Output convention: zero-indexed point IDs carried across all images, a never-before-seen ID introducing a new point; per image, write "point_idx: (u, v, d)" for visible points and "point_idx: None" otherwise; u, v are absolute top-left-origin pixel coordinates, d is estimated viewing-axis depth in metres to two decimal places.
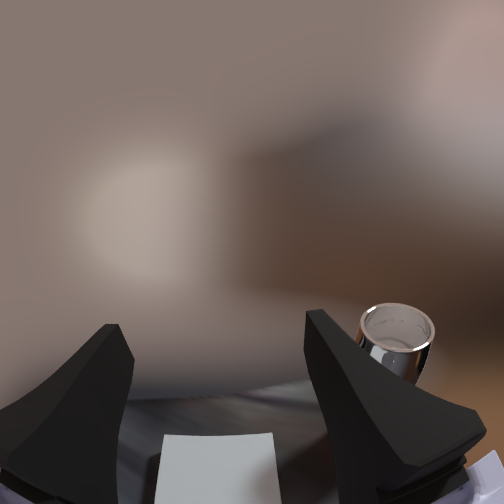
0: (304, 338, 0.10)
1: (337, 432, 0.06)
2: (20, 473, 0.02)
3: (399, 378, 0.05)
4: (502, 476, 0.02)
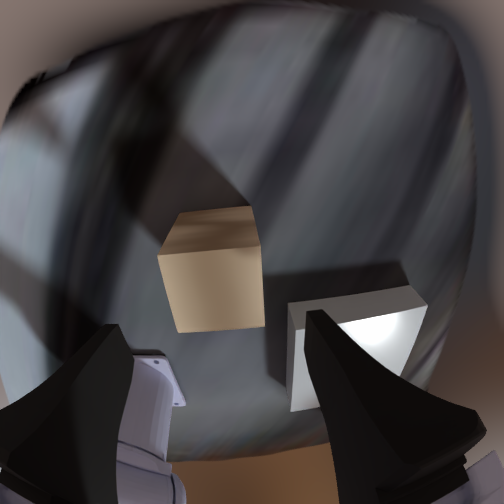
0: (304, 338, 0.10)
1: (337, 432, 0.06)
2: (20, 473, 0.02)
3: (399, 378, 0.05)
4: (502, 476, 0.02)
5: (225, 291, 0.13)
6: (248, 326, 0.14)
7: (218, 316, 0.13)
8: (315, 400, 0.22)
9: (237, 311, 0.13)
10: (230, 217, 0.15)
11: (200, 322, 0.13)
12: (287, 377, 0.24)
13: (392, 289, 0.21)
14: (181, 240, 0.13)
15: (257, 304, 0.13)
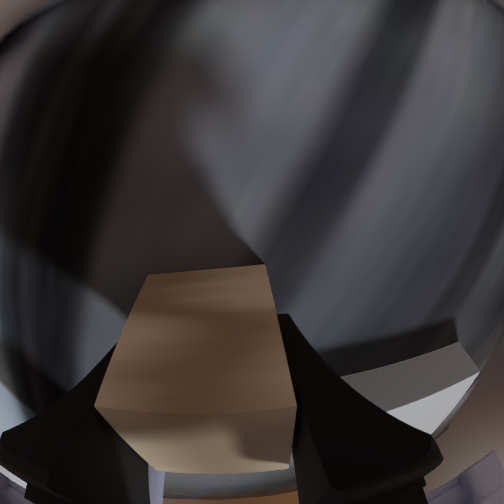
0: None
1: (294, 440, 0.06)
2: (61, 492, 0.02)
3: (352, 391, 0.05)
4: (502, 476, 0.02)
5: (226, 450, 0.06)
6: (262, 469, 0.07)
7: (215, 465, 0.06)
8: None
9: (246, 462, 0.06)
10: (230, 298, 0.08)
11: (187, 467, 0.06)
12: None
13: (439, 351, 0.14)
14: (139, 363, 0.06)
15: (279, 456, 0.06)
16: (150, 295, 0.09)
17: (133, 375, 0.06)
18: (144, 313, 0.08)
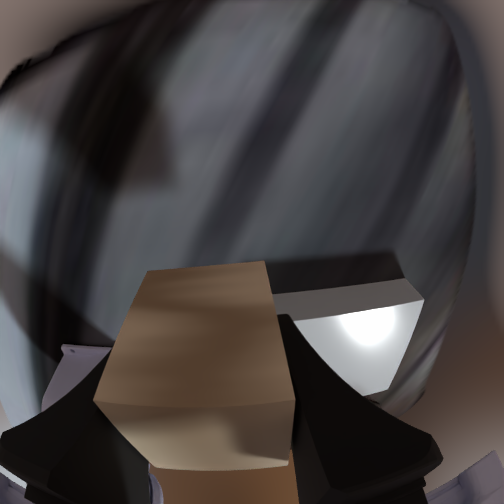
0: None
1: (294, 440, 0.06)
2: (61, 492, 0.02)
3: (352, 391, 0.05)
4: (502, 476, 0.02)
5: (224, 445, 0.06)
6: (261, 466, 0.07)
7: (214, 462, 0.06)
8: None
9: (245, 458, 0.06)
10: (230, 293, 0.09)
11: (186, 464, 0.07)
12: None
13: (386, 282, 0.20)
14: (138, 358, 0.06)
15: (278, 452, 0.06)
16: (150, 291, 0.09)
17: (132, 369, 0.06)
18: (144, 309, 0.08)
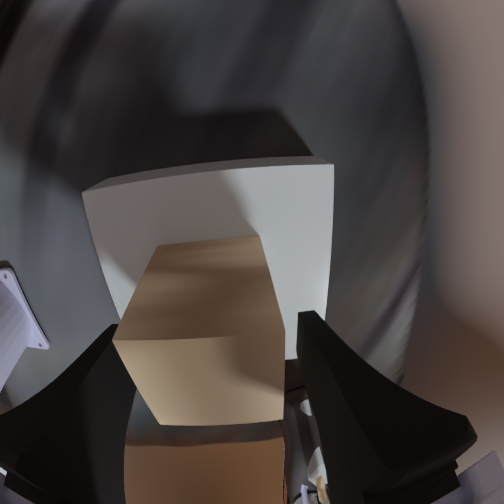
0: None
1: (327, 434, 0.06)
2: (29, 478, 0.02)
3: (389, 381, 0.05)
4: (502, 476, 0.02)
5: (225, 388, 0.07)
6: (259, 420, 0.08)
7: (215, 412, 0.08)
8: None
9: (244, 407, 0.08)
10: (230, 259, 0.10)
11: (189, 417, 0.08)
12: None
13: (276, 157, 0.13)
14: (152, 307, 0.08)
15: (273, 400, 0.08)
16: (160, 260, 0.10)
17: (147, 315, 0.07)
18: (156, 272, 0.09)
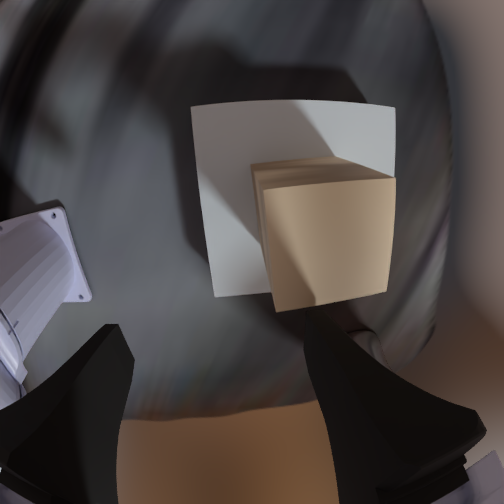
0: (304, 338, 0.10)
1: (337, 432, 0.06)
2: (20, 473, 0.02)
3: (399, 378, 0.05)
4: (502, 476, 0.02)
5: (350, 243, 0.09)
6: (367, 294, 0.10)
7: (335, 281, 0.10)
8: (250, 273, 0.16)
9: (360, 272, 0.09)
10: (324, 162, 0.12)
11: (310, 292, 0.10)
12: None
13: None
14: (283, 177, 0.09)
15: (383, 260, 0.09)
16: (262, 167, 0.12)
17: (284, 179, 0.09)
18: (266, 169, 0.11)
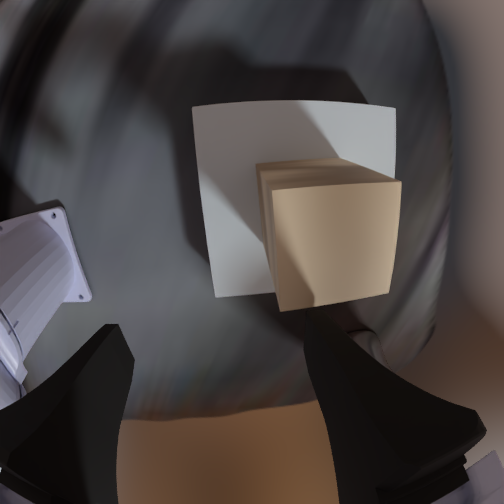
0: (304, 338, 0.10)
1: (337, 432, 0.06)
2: (20, 473, 0.02)
3: (399, 378, 0.05)
4: (502, 476, 0.02)
5: (355, 244, 0.09)
6: (369, 295, 0.10)
7: (340, 281, 0.10)
8: (251, 273, 0.16)
9: (364, 273, 0.10)
10: (329, 164, 0.12)
11: (314, 292, 0.10)
12: None
13: None
14: (291, 178, 0.09)
15: (386, 262, 0.09)
16: (268, 166, 0.12)
17: (291, 180, 0.09)
18: (272, 169, 0.11)
